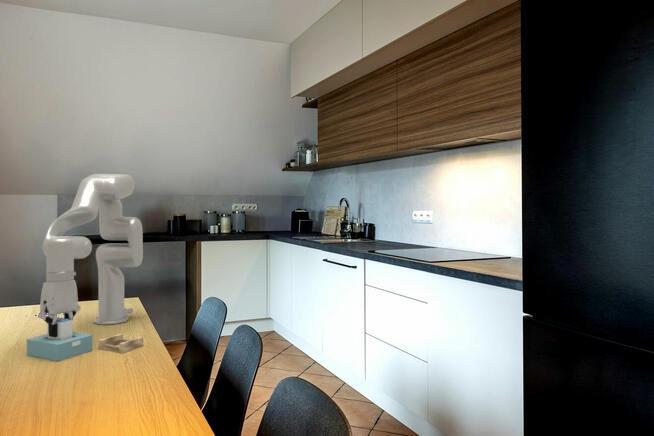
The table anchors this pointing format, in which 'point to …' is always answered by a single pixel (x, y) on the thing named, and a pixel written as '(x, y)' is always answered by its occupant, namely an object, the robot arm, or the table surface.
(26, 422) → the table surface
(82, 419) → the table surface
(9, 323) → the table surface
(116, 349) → the wooden frame
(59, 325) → the white box blue label
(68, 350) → the block
